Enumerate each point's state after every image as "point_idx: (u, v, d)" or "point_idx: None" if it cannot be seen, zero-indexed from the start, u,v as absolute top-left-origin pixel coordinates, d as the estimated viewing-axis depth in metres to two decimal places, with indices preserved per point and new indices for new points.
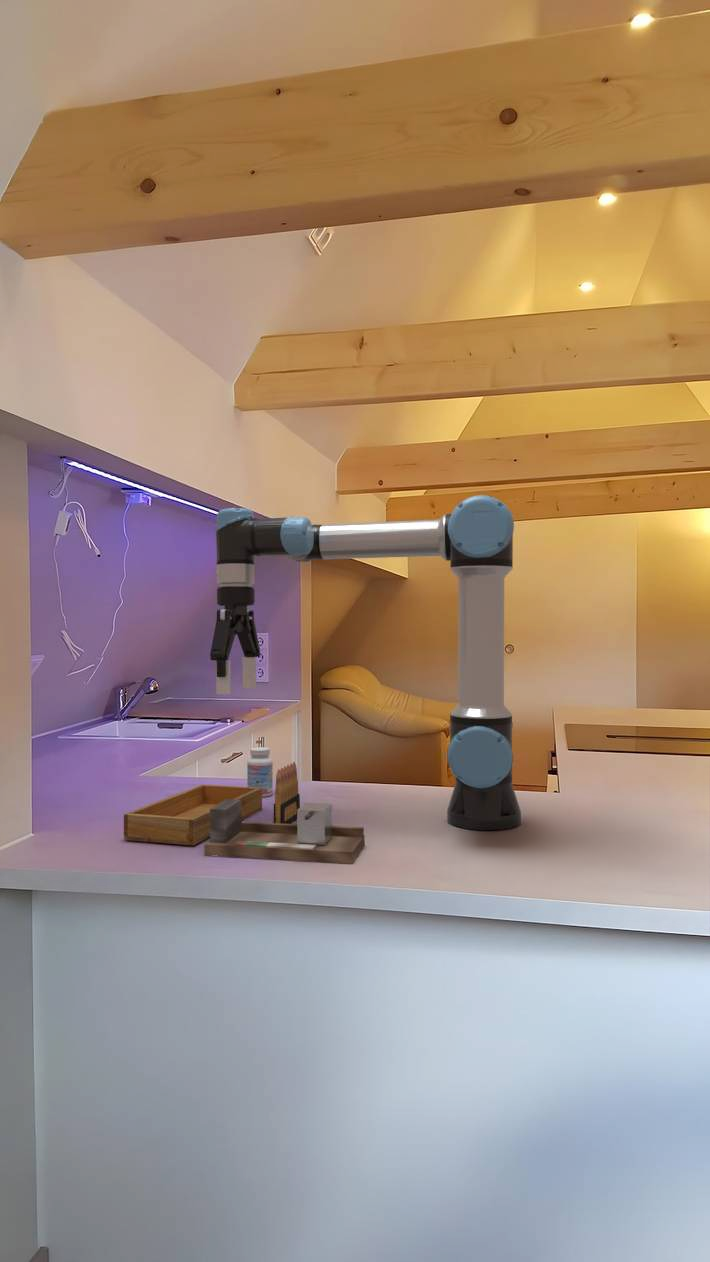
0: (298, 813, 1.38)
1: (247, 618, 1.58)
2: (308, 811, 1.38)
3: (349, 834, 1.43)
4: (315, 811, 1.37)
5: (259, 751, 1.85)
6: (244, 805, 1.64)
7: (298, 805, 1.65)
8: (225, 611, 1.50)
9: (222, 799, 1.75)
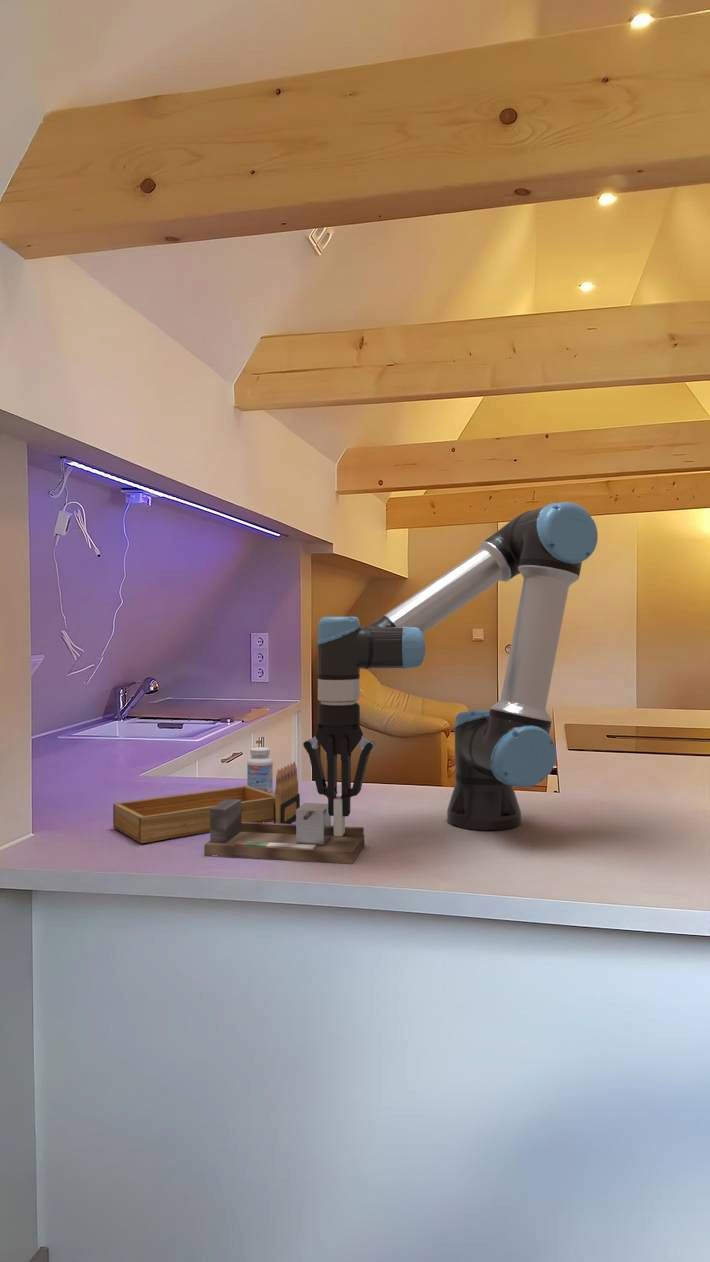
0: (297, 813, 1.38)
1: (343, 740, 1.37)
2: (307, 811, 1.38)
3: (349, 834, 1.43)
4: (314, 811, 1.37)
5: (259, 751, 1.85)
6: (242, 812, 1.58)
7: (298, 805, 1.65)
8: None
9: None
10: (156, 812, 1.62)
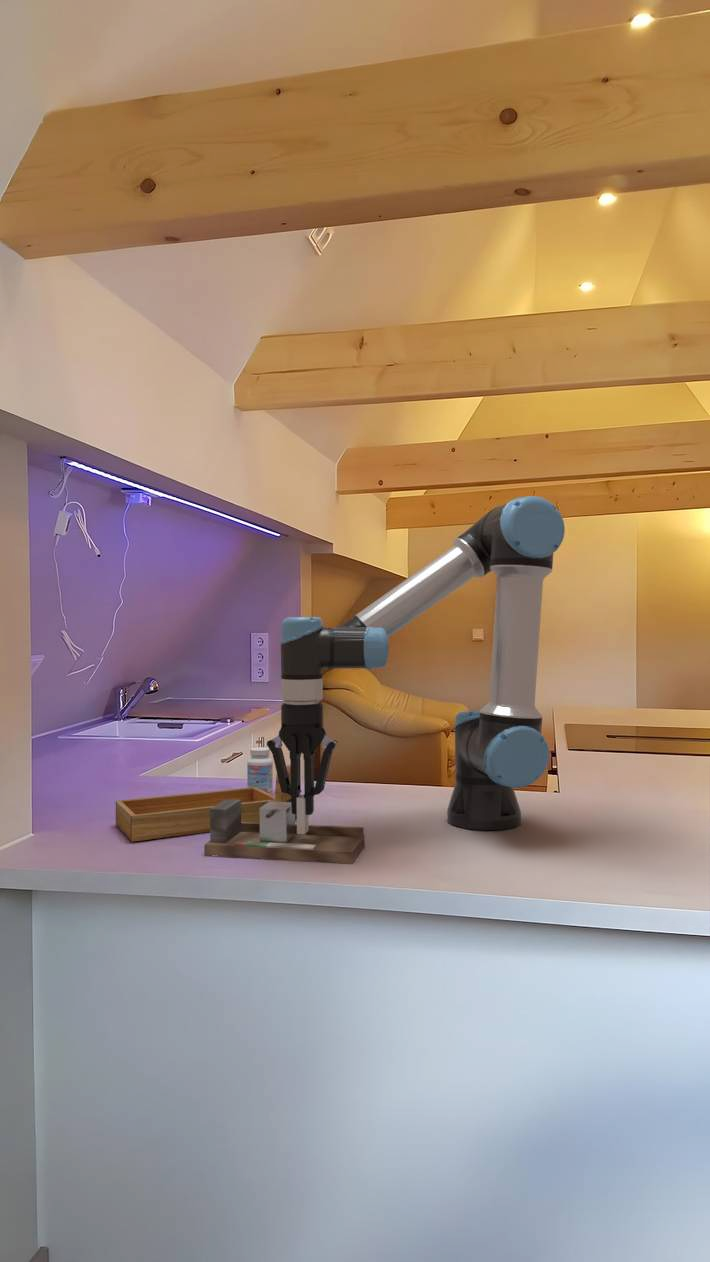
0: (260, 811, 1.39)
1: (305, 739, 1.38)
2: (270, 809, 1.39)
3: (349, 834, 1.43)
4: (277, 809, 1.39)
5: (259, 751, 1.85)
6: None
7: None
8: None
9: None
10: (159, 811, 1.63)
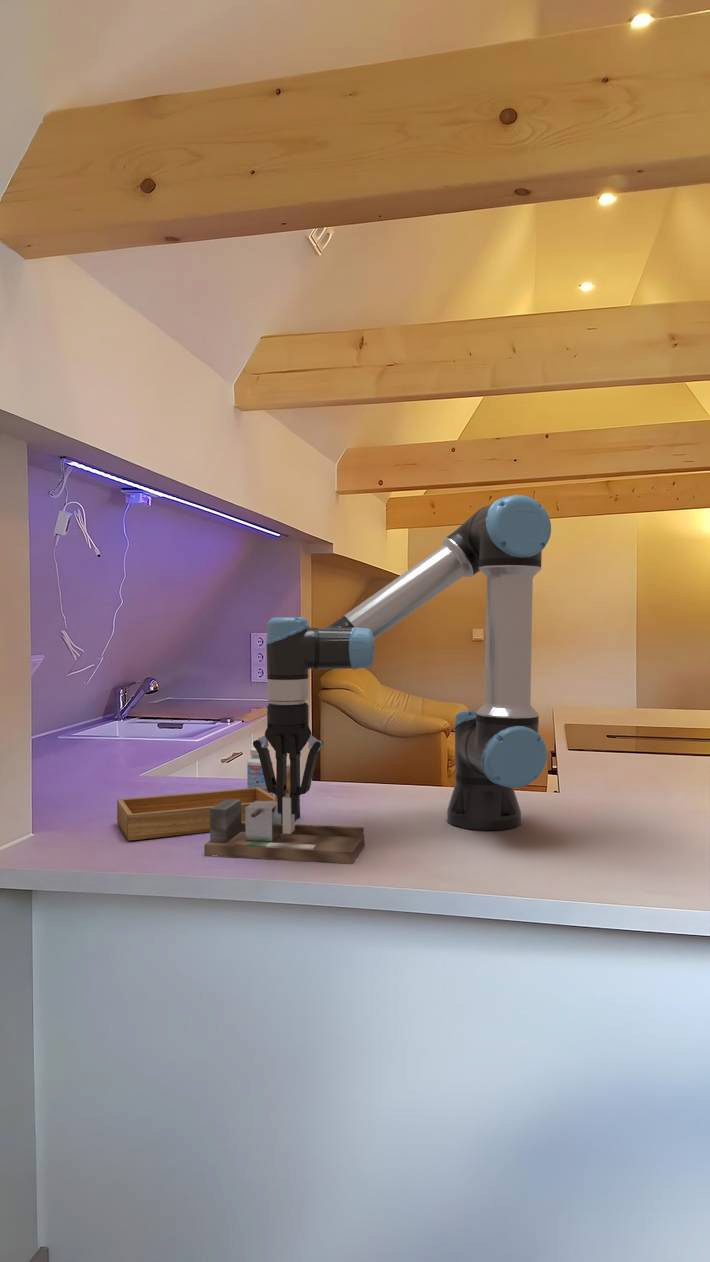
0: (246, 811, 1.40)
1: (291, 739, 1.39)
2: (256, 809, 1.39)
3: (349, 834, 1.43)
4: (263, 809, 1.39)
5: None
6: None
7: None
8: None
9: None
10: (160, 810, 1.64)
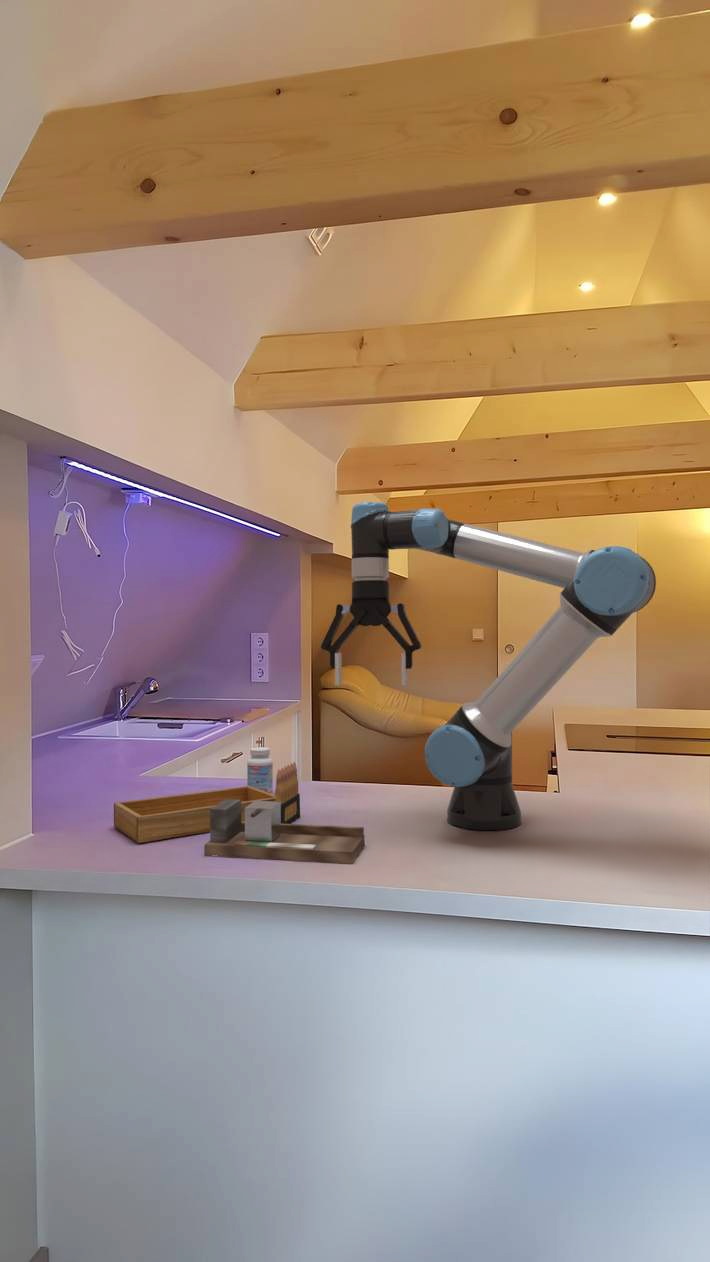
0: (245, 811, 1.40)
1: (375, 612, 1.55)
2: (255, 809, 1.40)
3: (349, 834, 1.43)
4: (262, 809, 1.39)
5: (259, 751, 1.85)
6: (242, 812, 1.58)
7: (298, 805, 1.65)
8: None
9: None
10: (156, 812, 1.62)
